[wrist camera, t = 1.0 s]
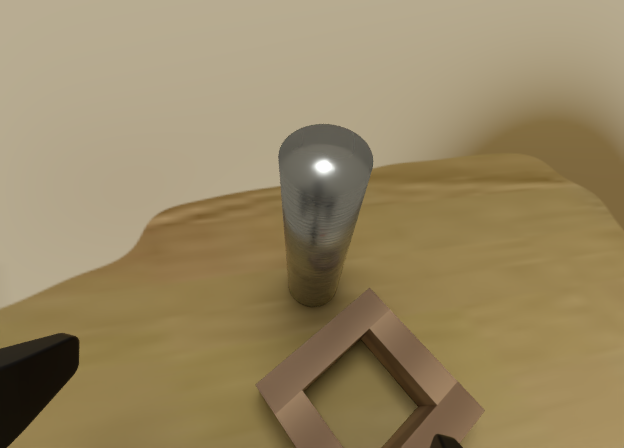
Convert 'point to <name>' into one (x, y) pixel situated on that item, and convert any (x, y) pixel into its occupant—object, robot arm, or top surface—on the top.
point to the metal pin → (320, 205)
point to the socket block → (395, 358)
